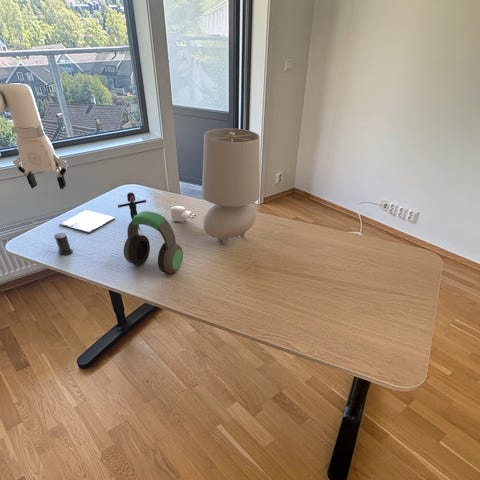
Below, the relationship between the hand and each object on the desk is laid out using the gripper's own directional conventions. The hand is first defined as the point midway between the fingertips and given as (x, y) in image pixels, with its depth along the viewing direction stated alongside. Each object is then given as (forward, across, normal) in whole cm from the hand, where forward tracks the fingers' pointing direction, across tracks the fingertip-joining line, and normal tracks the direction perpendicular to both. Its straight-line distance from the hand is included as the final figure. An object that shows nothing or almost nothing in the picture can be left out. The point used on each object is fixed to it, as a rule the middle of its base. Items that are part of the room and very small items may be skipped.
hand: (48, 187), depth 118 cm
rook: (+23, +1, -4) cm, 23 cm away
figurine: (+23, +22, +18) cm, 37 cm away
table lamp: (+23, +63, +10) cm, 68 cm away
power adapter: (+23, +42, +25) cm, 54 cm away
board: (+23, +1, +22) cm, 32 cm away
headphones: (+23, +36, -12) cm, 44 cm away
